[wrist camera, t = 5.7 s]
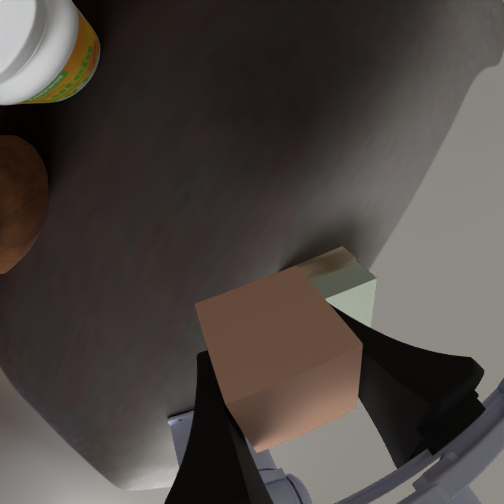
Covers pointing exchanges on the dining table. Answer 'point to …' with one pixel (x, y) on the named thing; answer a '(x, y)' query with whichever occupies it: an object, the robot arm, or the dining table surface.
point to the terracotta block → (281, 357)
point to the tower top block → (349, 291)
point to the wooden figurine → (20, 199)
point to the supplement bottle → (44, 51)
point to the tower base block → (327, 263)
